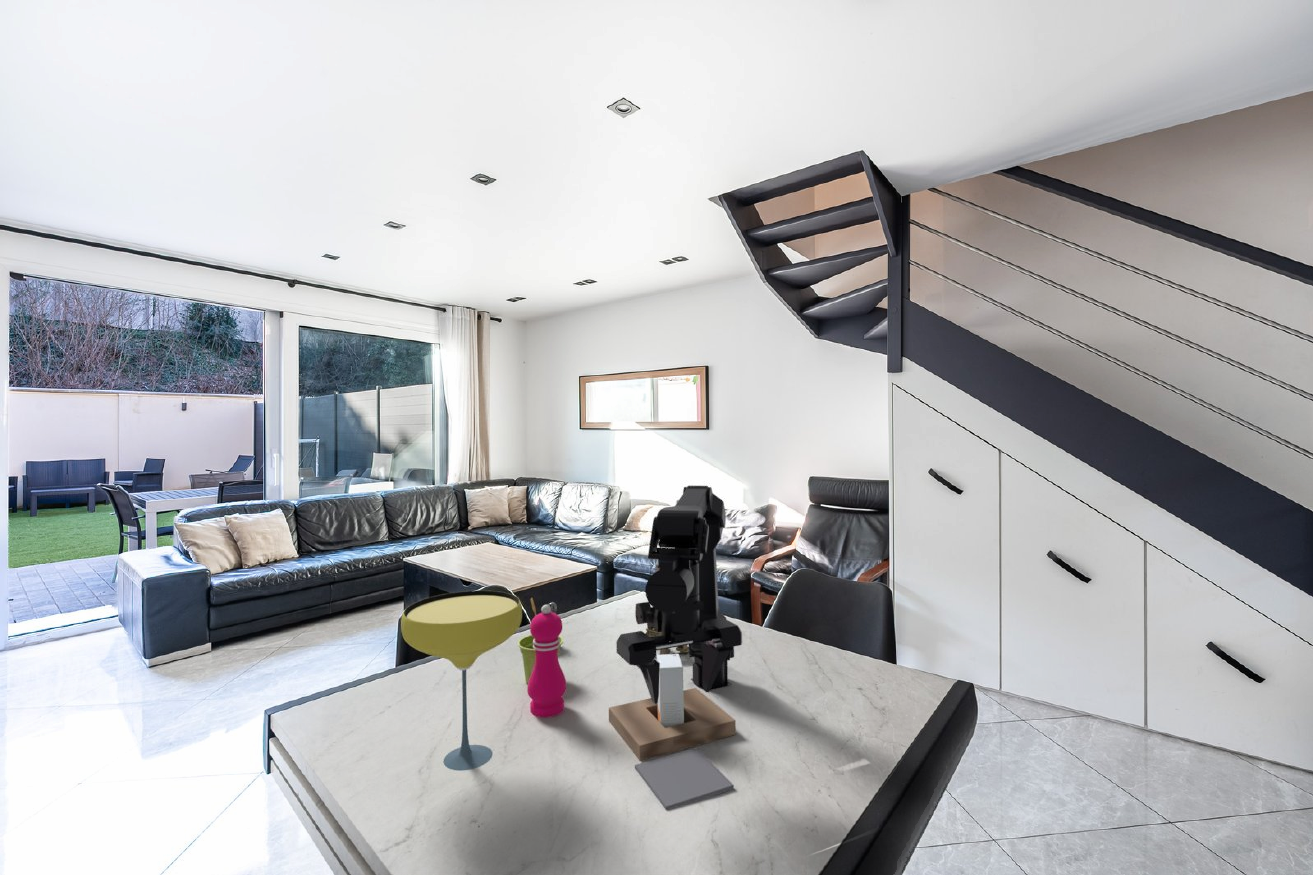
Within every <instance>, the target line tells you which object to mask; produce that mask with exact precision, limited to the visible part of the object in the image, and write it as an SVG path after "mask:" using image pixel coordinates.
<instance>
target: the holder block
mask: <svg viewBox="0 0 1313 875" xmlns="http://www.w3.org/2000/svg"><path fill="white" fill-rule="evenodd" d="M683 693H684V723H683V724H680V725H676V726H672V727H668V728H665V727H664V726H663V725H662V724H661V723H660V722H659V721H658V703H657V704H654V703H653V701H652V699H651V697H649V698H644V699H640V700H637V701H630V702H628V703H624V704H623V703H622V704H619V705H615V706H610V707H608V723H610V725H611V726H612V728H613V729H614V730H615V731H616V732H617V734H618V735H619V736H620V737H621V739H622V740H623V741H624V743H625V744H626V745H627V747H628V748H629V749H630V750H631V751H632V753H633V755H635V757H636V758H637V759H638V761H639V762H640V761H644V760H647V759H653V758H656V757H660V756H664V755H669V754H673V753H675V752H678V751H682V750H687V749H689V748H690V749H691V748H692V747H697V746H700V745H703V744H707V743H711V742H715V741H718V740H721V739H725V738H729V737H732V736H735V735H736V733H737V732H736V727H737V726H736V719H735V718H733V717H732V716H731V715H730V714H728V713H727V712H726V711H725V710H724V709H722V707H720V706H719V705H718V704H716V703H715V702H714V701H713V700H711V699H710V698H709V697H708V696H707V695H705V694H704V693H703V692H701V691H700V690H699V689H698V688H696V687H693V688H690V689H685V690H684V689H683Z"/></svg>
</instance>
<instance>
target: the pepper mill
mask: <svg viewBox="0 0 1313 875" xmlns="http://www.w3.org/2000/svg"><path fill="white" fill-rule="evenodd" d="M540 611H541V612H540V613H538V614H536V616H535V615H534V617H533V618H532V620H531V622H530V625H529V630H530V631H529V632H530V635H532V636H533V637H534V638H535V639H534V640H533V643H534V645H533V648H534V649H535V652H536V660H535V666H534V669H533V671H532V674H531V676H530V678H529V682H528V684H527V695H528V697H529V698H530V699H531V701H530V704H529V705H530V707H529V708H530V710H529V711H530V713H531V715H533V716H534V717H535V716H536V717H537V718H551V717H554V716H555V717H556V716H558V715H561V714H562V713H563V711H564V709H565V699H564V698H563V696H564V695H565V693H566V691H567V681H566V676H565V674H564V672H563V670H562V668H561V667H562V666H561V665H560V661H559V657H558V654H557V651H558V647H559V646H560V643H559V641H560V638H559V637H558V636H560V635H561V633H562V632H563V622H562V618H561V617H560V616H559V615H558V614H555V613H556V612H553V611H552V607H551V606H549V604H544V605H542V607H541V608H540ZM550 611H551V612H550Z"/></svg>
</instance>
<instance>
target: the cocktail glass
mask: <svg viewBox="0 0 1313 875" xmlns="http://www.w3.org/2000/svg"><path fill="white" fill-rule="evenodd" d="M522 620H523V608H522V602H521V599H520V598H519V597H518V596H516V595H515V594H512V593H509V592H504V591H497V590H466V591H456V592H450V593H449V592H447V593H443V594H438V595H433V596H430V597H426V598H423V599H421V600H418V601H416V602H414V603H412V604H409V605H408V606H407V607H405V609H404V610H403V612H402V614H401V621H400V623H401V624H400V630H401V634H402V638H403V639H404V641H405V642H406V644H408V645H409V646H410V647H412V648H413V649H415V650H416V651H418V652H421V653H423V654H426V655H429V656H433V657H435V658H436V657H437V658H441V659H446V660H448V661H450V662H451V663H452V665H453V666H454V667H455V668H456V669H457V670H459V671H461V677H462V678H461V680H462V681H461V682H462V683H461V684H462V685H461V686H462V692H461V693H462V726H461V727H462V733H461V735H462V736H461V744H460V745H461V746H459V747H457V748H455V749H453V750H451V751H449V752H448V753H447V754H446V755H445V757H444V758H443V766H444V767H446V768H447V769H449V770H452V771H456V772H457V771H458V772H459V771H464V772H465V771H470V770H474V769H478V768H481V767H482V766H484V765H486V764H487V763H489V762H490V760H491V759H492V757H493V750H492V749H491V748H490V747H488V746H486V745H482V744H481V745H480V744H470V742H469V734H468V731H469V730H468V704H467V696H468V695H467V670H469V669H470V668H471V667H472V666H473V664H474V663H475V662H476V660H477V659H478V658H479V657H480V656H482V655H483V654H485V653H487V652H489V651H491V650H493V649H494V648H496V647H497V646H500V645H501V644H503V643H504V642H506V641H507V640H509V639H510V638H511V637H512V636H513V635H514V634H515V633H516V632H517V630H518V629H519V628H520V626H521V624H522Z"/></svg>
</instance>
